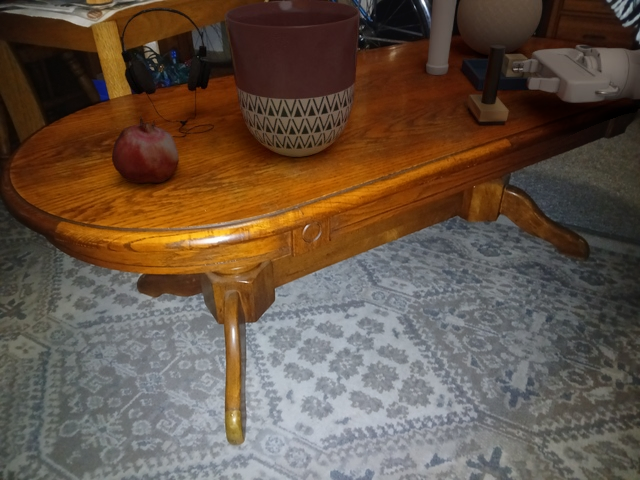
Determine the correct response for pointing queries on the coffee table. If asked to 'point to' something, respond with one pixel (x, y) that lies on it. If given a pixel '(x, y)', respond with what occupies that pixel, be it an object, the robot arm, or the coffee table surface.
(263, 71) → the planter
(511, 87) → the tray
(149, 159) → the fruit
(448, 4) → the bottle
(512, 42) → the decorative sphere
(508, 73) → the crumb
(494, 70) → the brush
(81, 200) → the coffee table surface
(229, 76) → the coffee table surface
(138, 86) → the headphones
